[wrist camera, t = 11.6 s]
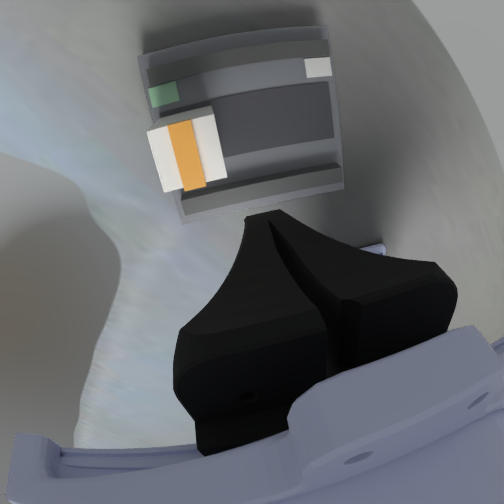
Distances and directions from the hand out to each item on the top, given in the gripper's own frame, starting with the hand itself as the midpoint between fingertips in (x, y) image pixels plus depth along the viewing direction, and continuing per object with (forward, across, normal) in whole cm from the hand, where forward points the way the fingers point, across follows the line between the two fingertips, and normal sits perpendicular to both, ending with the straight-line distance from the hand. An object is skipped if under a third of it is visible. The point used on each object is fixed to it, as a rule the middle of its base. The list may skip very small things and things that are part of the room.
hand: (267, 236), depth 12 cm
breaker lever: (+8, +2, -3) cm, 9 cm away
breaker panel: (+10, -1, -3) cm, 11 cm away
